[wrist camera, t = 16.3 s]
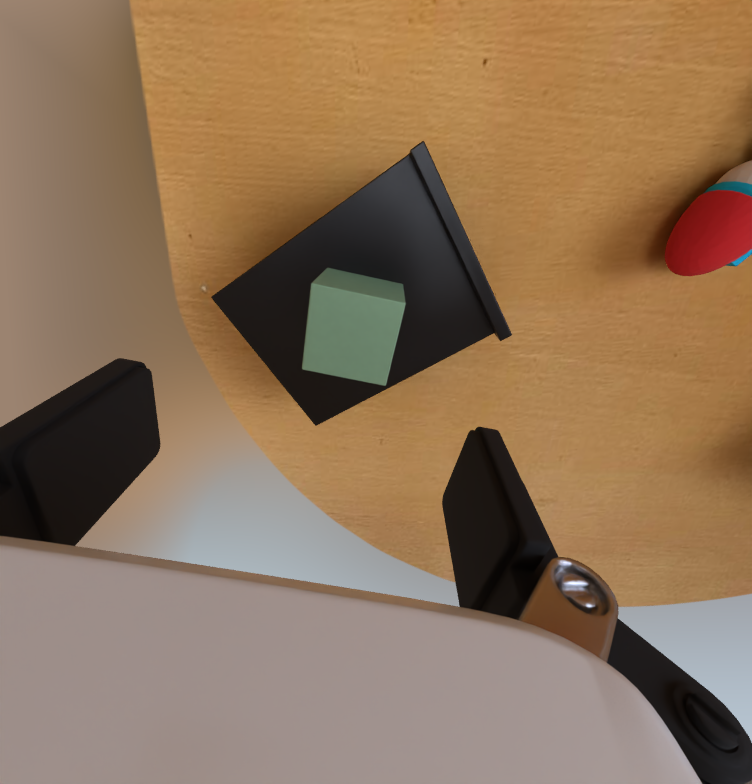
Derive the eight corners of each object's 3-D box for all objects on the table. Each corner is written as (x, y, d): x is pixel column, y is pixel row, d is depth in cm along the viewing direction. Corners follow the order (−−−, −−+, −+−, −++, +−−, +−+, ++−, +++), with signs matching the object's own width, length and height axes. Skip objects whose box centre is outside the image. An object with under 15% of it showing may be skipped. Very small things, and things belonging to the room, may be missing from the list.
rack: (328, 388, 34) (311, 437, 27) (246, 278, 29) (199, 303, 22) (483, 303, 30) (512, 335, 22) (414, 158, 25) (423, 140, 18)
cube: (317, 340, 25) (301, 369, 20) (327, 267, 22) (311, 282, 18) (386, 354, 25) (385, 386, 21) (403, 283, 23) (406, 303, 18)
